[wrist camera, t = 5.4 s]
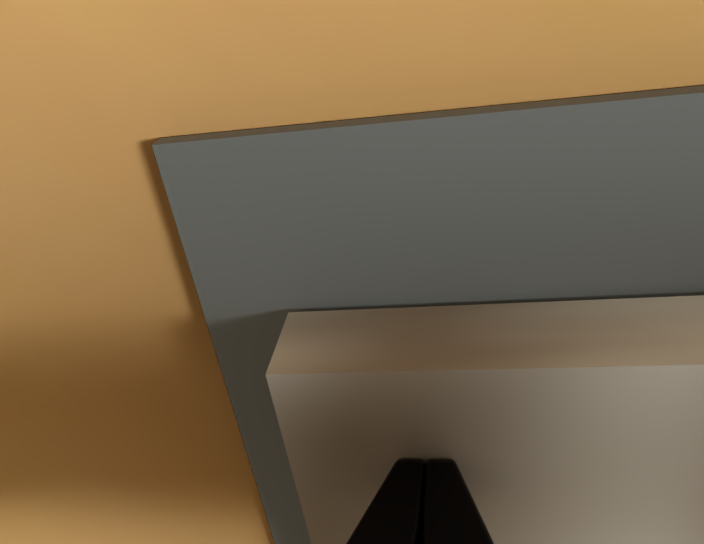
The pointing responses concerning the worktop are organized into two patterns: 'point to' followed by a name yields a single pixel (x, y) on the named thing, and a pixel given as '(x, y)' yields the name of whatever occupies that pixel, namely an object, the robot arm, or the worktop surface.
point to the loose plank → (504, 414)
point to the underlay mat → (429, 226)
